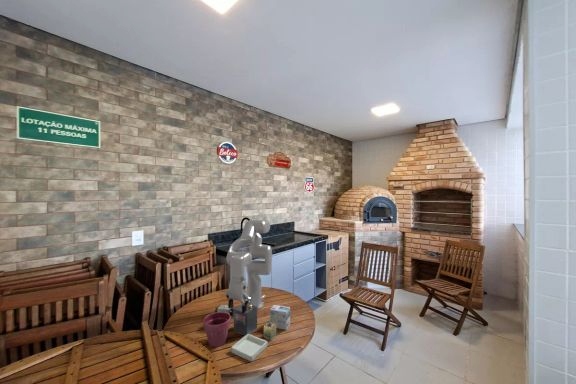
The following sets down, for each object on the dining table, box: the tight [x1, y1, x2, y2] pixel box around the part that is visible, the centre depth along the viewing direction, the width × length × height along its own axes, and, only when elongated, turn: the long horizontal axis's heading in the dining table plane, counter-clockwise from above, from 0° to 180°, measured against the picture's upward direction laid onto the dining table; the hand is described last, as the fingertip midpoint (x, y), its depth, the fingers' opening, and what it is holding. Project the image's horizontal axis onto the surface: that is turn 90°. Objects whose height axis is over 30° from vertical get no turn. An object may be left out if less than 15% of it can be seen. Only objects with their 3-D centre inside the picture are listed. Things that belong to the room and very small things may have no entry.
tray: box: [230, 334, 269, 363], centre depth 125 cm, size 13×13×2 cm
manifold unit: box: [233, 301, 258, 337], centre depth 142 cm, size 9×10×15 cm
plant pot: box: [203, 312, 232, 348], centre depth 131 cm, size 14×14×13 cm
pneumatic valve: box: [214, 304, 235, 320], centre depth 148 cm, size 6×12×12 cm, turn 78°
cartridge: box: [263, 320, 277, 341], centre depth 136 cm, size 5×5×8 cm
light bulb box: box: [269, 304, 291, 331], centre depth 147 cm, size 11×7×11 cm, turn 71°
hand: (237, 309), depth 133 cm, fingers open, 9 cm apart
